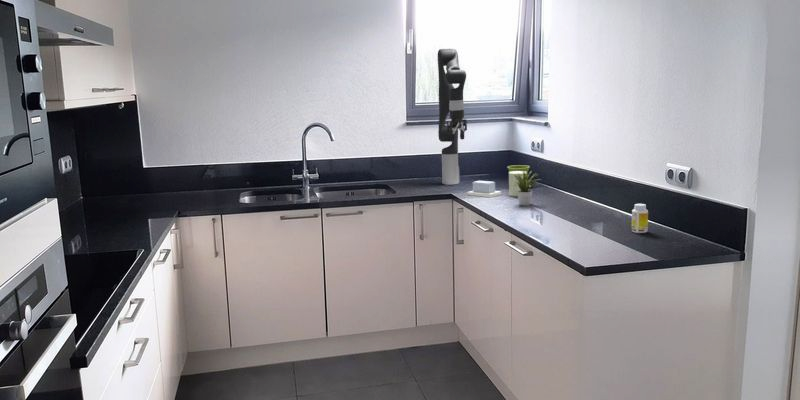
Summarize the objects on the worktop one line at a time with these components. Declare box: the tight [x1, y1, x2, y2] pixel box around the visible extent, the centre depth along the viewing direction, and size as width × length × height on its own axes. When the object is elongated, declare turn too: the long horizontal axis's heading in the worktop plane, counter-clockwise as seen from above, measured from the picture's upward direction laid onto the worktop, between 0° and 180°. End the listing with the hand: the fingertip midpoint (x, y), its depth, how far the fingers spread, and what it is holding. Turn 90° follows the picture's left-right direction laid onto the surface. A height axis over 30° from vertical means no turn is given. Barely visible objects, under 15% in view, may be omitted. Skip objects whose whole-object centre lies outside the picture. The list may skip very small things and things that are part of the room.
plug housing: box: [472, 180, 496, 193], centre depth 321 cm, size 5×10×5 cm, turn 48°
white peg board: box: [466, 190, 502, 198], centre depth 321 cm, size 10×14×4 cm
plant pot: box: [506, 164, 530, 174], centre depth 339 cm, size 12×12×11 cm
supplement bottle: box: [631, 203, 649, 234], centre depth 232 cm, size 6×6×10 cm
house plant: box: [513, 170, 543, 206], centre depth 290 cm, size 14×14×16 cm
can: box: [508, 171, 528, 198], centre depth 317 cm, size 9×9×12 cm
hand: (457, 140), depth 330 cm, fingers open, 8 cm apart
